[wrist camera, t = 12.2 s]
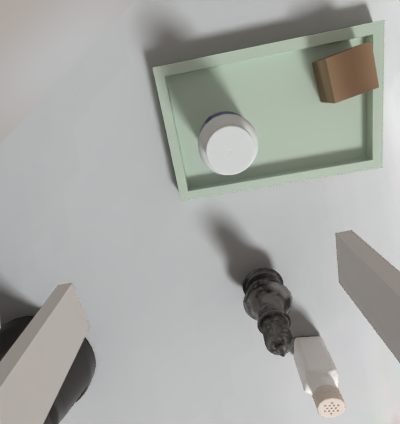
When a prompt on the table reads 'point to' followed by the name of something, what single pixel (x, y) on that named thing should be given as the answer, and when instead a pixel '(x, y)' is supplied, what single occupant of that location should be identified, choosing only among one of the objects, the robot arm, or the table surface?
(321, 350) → the salt shaker
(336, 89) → the walnut block
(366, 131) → the tray
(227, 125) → the pill bottle
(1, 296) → the table surface
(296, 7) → the table surface
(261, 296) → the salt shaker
